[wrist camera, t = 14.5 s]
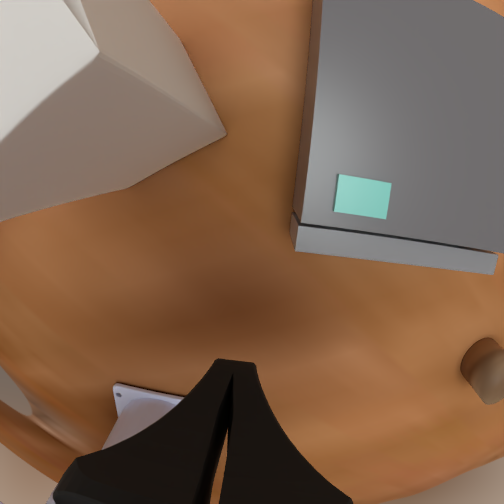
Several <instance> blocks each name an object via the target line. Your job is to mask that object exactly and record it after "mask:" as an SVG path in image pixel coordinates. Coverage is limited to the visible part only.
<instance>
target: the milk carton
mask: <svg viewBox="0 0 504 504" xmlns="http://www.w3.org/2000/svg"><path fill="white" fill-rule="evenodd" d="M226 134H227V133H226V131H225V128H224V126H223V124H222V122H221V120H220V118H219V116H218V114H217V112H216V110H215V108H214V106H213V104H212V102H211V100H210V98H209V96H208V94H207V92H206V90H205V88H204V86H203V84H202V82H201V80H200V78H199V76H198V74H197V72H196V70H195V68H194V66H193V64H192V62H191V60H190V58H189V56H188V54H187V52H186V50H185V48H184V46H183V44H182V42H181V40H180V39H179V37H178V36H177V35H176V34H175V32H174V31H173V30H172V28H171V27H170V26H169V25H168V23H167V22H166V21H165V20H164V18H163V17H162V16H161V15H160V13H159V12H158V11H157V10H156V8H155V7H154V6H153V5H152V3H151V2H150V1H149V0H0V222H1V221H4V220H7V219H11V218H14V217H17V216H21V215H24V214H27V213H31V212H34V211H38V210H42V209H45V208H49V207H52V206H56V205H60V204H64V203H68V202H71V201H75V200H79V199H83V198H88V197H92V196H96V195H100V194H104V193H109V192H113V191H118V190H122V189H126V188H129V187H131V186H133V185H135V184H136V183H138V182H140V181H142V180H143V179H145V178H147V177H149V176H150V175H152V174H154V173H156V172H157V171H159V170H161V169H163V168H165V167H166V166H168V165H170V164H172V163H174V162H176V161H178V160H179V159H181V158H183V157H185V156H187V155H189V154H191V153H193V152H195V151H197V150H199V149H201V148H203V147H205V146H207V145H209V144H211V143H213V142H215V141H217V140H219V139H221V138H222V137H224V136H226Z"/></svg>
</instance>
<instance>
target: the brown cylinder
mask: <svg viewBox="0 0 504 504" xmlns="http://www.w3.org/2000/svg"><path fill="white" fill-rule="evenodd" d="M461 373H462V374H463V376H464V377H465V378H466V380H467V381H468V382H469V384H470V385H471V386H472V388H473V389H474V390H475V392H476V393H477V394H478V396H479V397H480V398H481V400H482V401H483V402H484V403H485V404H488V405H490V404H494V403H497V402H498V401H500V400H502V399H503V398H504V349H503V348H501V347H500V346H499V345H498V344H497V343H496V342H495V341H494V340H493V339H491V338H484V339H482V340H480V341H478V342H476V343H475V344H474V345H473V346H472V347H471V348H470V349H469V350H468V351H467V353H466V354H465V356H464V358H463V360H462V363H461Z"/></svg>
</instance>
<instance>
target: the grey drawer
mask: <svg viewBox="0 0 504 504" xmlns="http://www.w3.org/2000/svg"><path fill="white" fill-rule="evenodd" d="M290 236H291V239H292V243H293V246H294V249H295V251H298V252H307V253H316V254H324V255H333V256H341V257H350V258H358V259H367V260H375V261H384V262H392V263H400V264H409V265H417V266H425V267H433V268H442V269H450V270H458V271H466V272H474V273H482V274H490V275H493V274H494V270H495V266H496V263H497V259H498V255H497V254H495V253H493V252H491V251H488V250H482V249H476V248H470V247H464V246H458V245H452V244H446V243H440V242H434V241H428V240H421V239H415V238H408V237H402V236H395V235H388V234H381V233H374V232H367V231H360V230H353V229H345V228H338V227H330V226H322V225H315V224H307V223H301V222H300V220H299V218H298V216H297V214H296V213H295V212H292V216H291V224H290Z"/></svg>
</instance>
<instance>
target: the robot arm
mask: <svg viewBox="0 0 504 504" xmlns="http://www.w3.org/2000/svg"><path fill="white" fill-rule="evenodd" d="M113 393H114V398H115V403H116V408H117V413H118V420H117V421H116V423H115V425H114V427H113V429H112V431H111V432H110V434H109V436H108V438H107V440H106V442H105V444H104V446H103V447H102V449H101V450H100V451H97V452H94V453H91V454H88V455H85V456H81V457H77V458H76V459H75V460H74V461H73V463H72V464H71V465H70V466H69V467H68V469H67V470H66V472H65V473H64V474H63V476H62V478H61V480H60V481H59V483H58V484H57V486H56V487H55V489H54V490H53V492H52V494H51V495H50V497H49V499H48V501H47V503H46V504H210V498H211V492H212V486H213V481H214V477H215V473H216V469H217V466H218V462H219V459H220V455H221V451H222V448H223V444H224V440H225V437H226V433H227V429H228V443H227V460H226V466H225V472H224V477H223V483H222V489H221V494H220V500H219V504H353V502H352V499H351V498H350V497H348V496H347V495H346V494H344V493H343V492H342V491H340V490H339V489H337V488H336V487H335V486H333V485H332V484H331V483H330V482H328V481H327V480H326V479H325V478H324V477H323V476H322V475H321V474H320V473H319V472H317V471H316V470H315V469H314V468H313V466H312V465H311V464H310V463H309V462H308V461H307V460H306V459H305V458H304V457H303V456H302V455H301V453H300V452H299V451H298V450H297V449H296V447H295V446H294V445H293V443H292V442H291V441H290V440H289V438H288V437H287V435H286V434H285V432H284V431H283V429H282V428H281V426H280V424H279V423H278V421H277V419H276V417H275V416H274V414H273V412H272V410H271V408H270V406H269V404H268V402H267V399H266V397H265V395H264V392H263V390H262V387H261V384H260V381H259V378H258V374H257V369H256V365H255V364H254V363H251V362H242V361H234V360H226V359H219V358H218V359H216V360H215V361H214V363H213V364H212V366H211V367H210V369H209V370H208V372H207V373H206V374H205V375H204V377H203V378H202V379H201V380H200V381H199V383H198V384H197V385H196V386H195V387H194V388H193V389H192V390H191V392H190V393H189V394H188V395H187V396H185V397H179V396H174V395H169V394H164V393H159V392H154V391H149V390H145V389H140V388H136V387H132V386H127V385H123V384H119V383H116V384H115V385H114V386H113ZM119 393H120V394H119ZM0 504H3V503H2V502H0Z"/></svg>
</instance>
